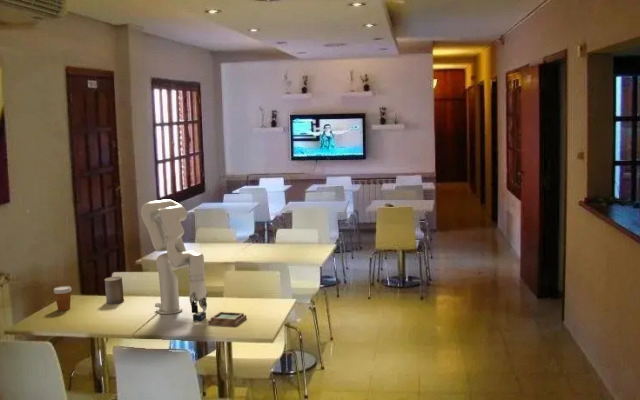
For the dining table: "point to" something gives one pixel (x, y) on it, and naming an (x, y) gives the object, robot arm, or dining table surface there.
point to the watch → (200, 315)
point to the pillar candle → (114, 290)
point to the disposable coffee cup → (63, 297)
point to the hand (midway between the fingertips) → (199, 310)
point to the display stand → (227, 319)
